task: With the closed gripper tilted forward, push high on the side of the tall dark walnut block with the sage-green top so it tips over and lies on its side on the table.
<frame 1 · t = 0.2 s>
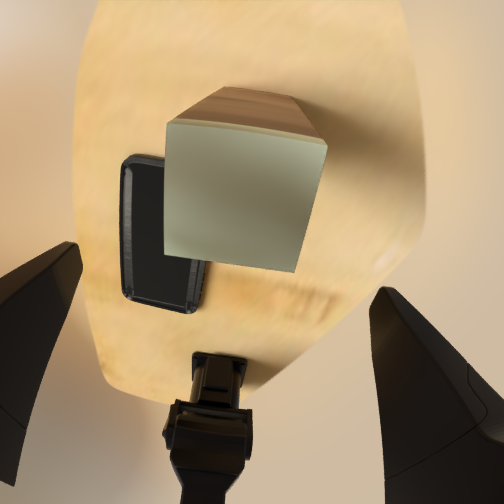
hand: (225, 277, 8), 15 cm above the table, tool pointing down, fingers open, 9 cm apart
walnut block: (252, 121, 20), on the table
phone: (166, 238, 26), on the table
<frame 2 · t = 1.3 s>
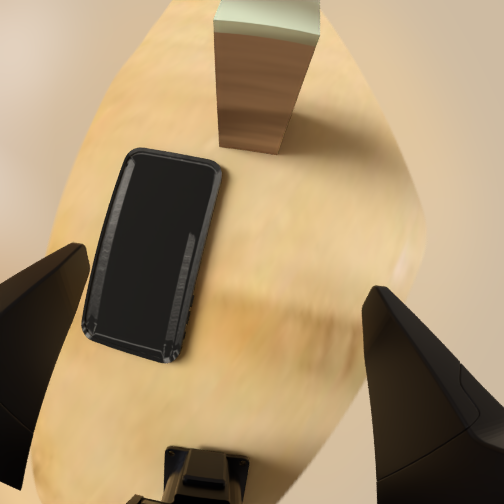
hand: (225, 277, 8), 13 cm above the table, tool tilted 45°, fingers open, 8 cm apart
walnut block: (252, 126, 23), on the table
phone: (151, 252, 22), on the table
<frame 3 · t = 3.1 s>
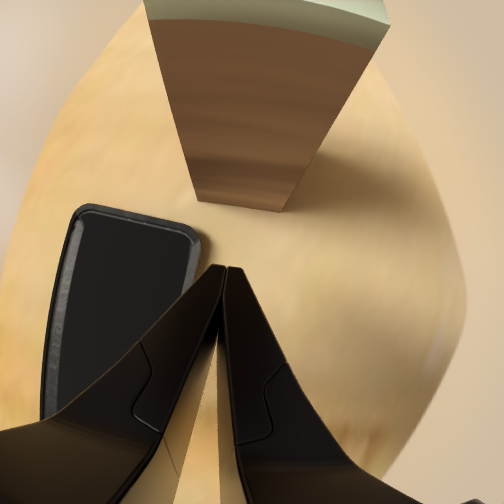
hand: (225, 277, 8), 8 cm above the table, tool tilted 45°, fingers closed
walnut block: (244, 168, 17), on the table
phone: (112, 347, 16), on the table
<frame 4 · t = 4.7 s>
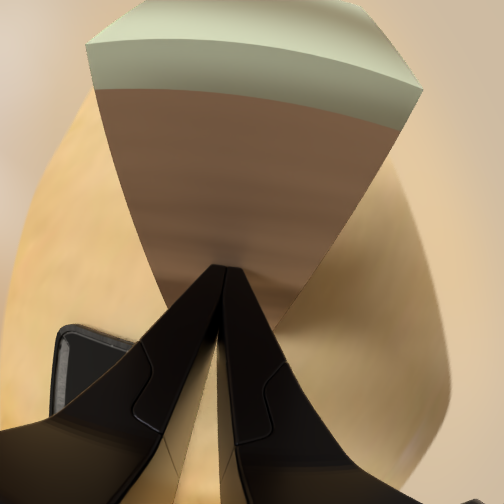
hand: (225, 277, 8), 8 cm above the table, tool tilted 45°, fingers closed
walnut block: (227, 288, 15), point 1 cm above the table, tilted 20°
phone: (110, 447, 15), on the table
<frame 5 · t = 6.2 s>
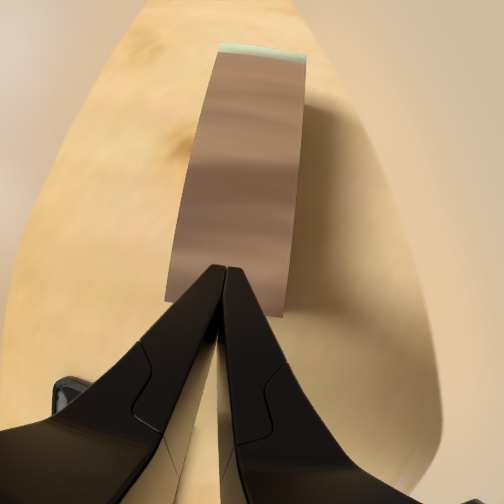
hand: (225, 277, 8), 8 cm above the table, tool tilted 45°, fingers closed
walnut block: (224, 308, 14), point 2 cm above the table, tilted 90°
phone: (111, 484, 14), on the table
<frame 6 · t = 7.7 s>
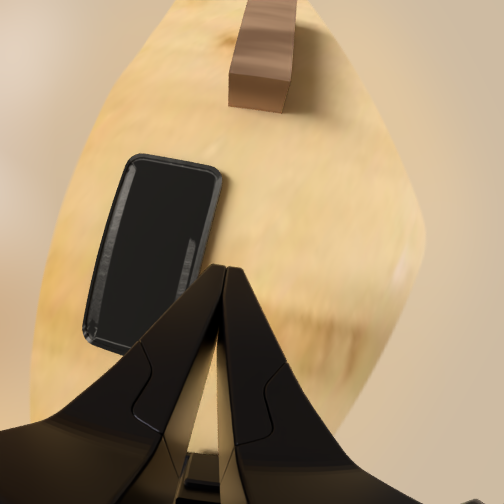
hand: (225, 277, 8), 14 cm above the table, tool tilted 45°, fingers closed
walnut block: (257, 94, 22), point 2 cm above the table, tilted 90°
phone: (152, 257, 22), on the table
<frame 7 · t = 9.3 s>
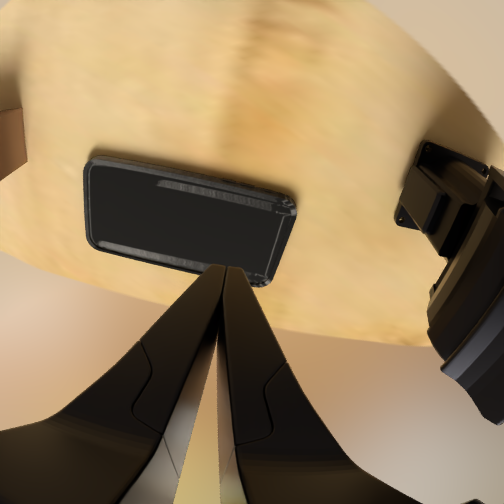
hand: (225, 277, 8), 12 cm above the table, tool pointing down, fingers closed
walnut block: (6, 145, 15), point 2 cm above the table, tilted 90°
phone: (182, 216, 22), on the table
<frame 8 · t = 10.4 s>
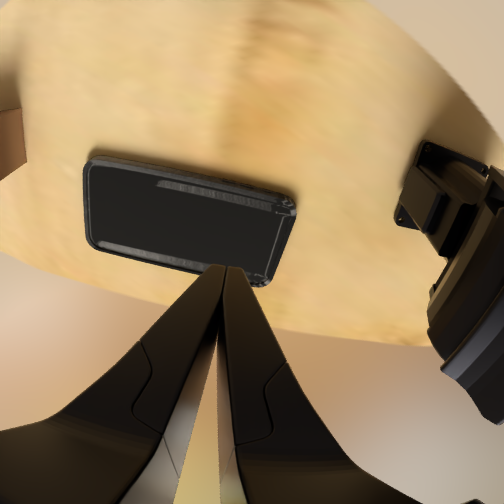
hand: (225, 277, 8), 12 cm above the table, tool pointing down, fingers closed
walnut block: (6, 145, 15), point 2 cm above the table, tilted 90°
phone: (182, 217, 22), on the table
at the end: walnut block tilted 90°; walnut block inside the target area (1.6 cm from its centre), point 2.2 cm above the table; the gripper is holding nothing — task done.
